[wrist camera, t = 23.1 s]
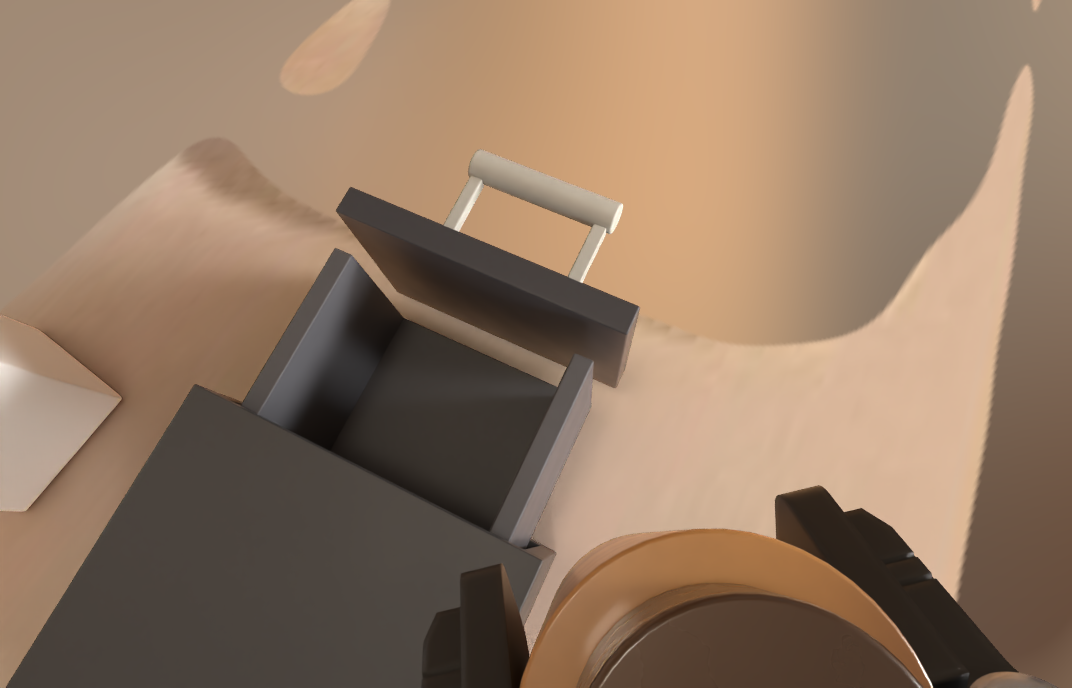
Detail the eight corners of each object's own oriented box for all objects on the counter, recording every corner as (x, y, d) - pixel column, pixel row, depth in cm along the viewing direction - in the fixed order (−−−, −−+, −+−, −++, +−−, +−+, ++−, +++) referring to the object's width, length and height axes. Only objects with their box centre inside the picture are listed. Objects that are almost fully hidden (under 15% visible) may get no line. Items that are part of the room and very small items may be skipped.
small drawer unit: (314, 430, 33) (194, 383, 23) (556, 552, 30) (543, 560, 20) (139, 741, 29) (-98, 851, 19) (397, 909, 27) (283, 1137, 17)
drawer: (453, 191, 35) (412, 83, 27) (666, 277, 33) (694, 188, 24) (262, 531, 31) (140, 529, 22) (493, 657, 28) (456, 709, 20)
